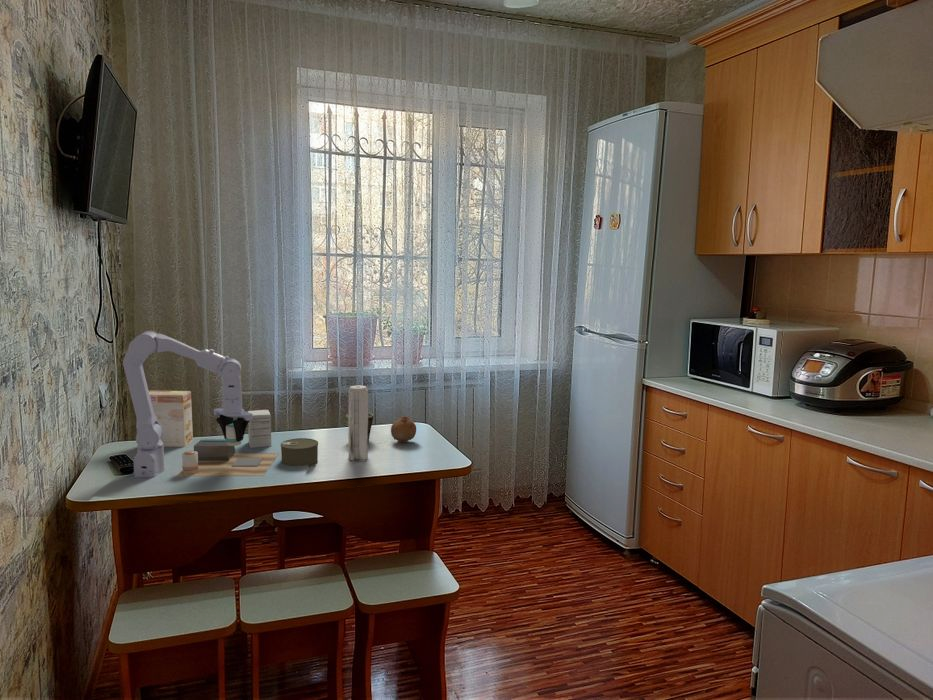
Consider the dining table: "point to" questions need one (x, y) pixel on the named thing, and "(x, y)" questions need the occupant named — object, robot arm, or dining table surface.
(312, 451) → the can
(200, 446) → the box
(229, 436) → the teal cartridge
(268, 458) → the board
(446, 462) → the dining table surface
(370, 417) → the ceramic cup
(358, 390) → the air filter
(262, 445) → the supplement box
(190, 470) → the cylinder
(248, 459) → the mat
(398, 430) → the onion
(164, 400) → the coffeecake box
